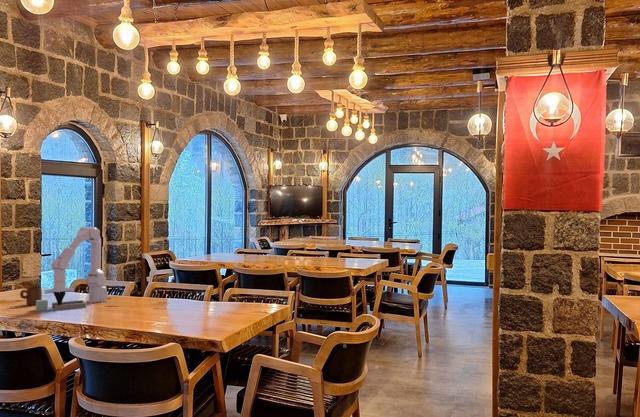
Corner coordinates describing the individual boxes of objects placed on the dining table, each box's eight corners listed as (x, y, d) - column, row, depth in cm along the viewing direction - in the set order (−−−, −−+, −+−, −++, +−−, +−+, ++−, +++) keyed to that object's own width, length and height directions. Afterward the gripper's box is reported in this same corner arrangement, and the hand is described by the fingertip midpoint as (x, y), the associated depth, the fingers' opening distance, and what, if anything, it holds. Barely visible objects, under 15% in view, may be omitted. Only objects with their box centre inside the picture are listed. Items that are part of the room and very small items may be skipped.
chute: (82, 304, 303) (82, 300, 303) (86, 307, 294) (86, 303, 294) (51, 307, 294) (51, 302, 294) (54, 310, 286) (54, 305, 286)
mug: (24, 307, 292) (24, 290, 292) (15, 306, 296) (15, 289, 296) (44, 304, 303) (44, 287, 303) (35, 302, 306) (35, 286, 306)
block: (46, 308, 290) (46, 299, 290) (47, 310, 286) (47, 300, 286) (35, 309, 287) (35, 300, 287) (37, 311, 283) (37, 301, 283)
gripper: (72, 279, 299) (72, 303, 299) (43, 280, 290) (43, 305, 291) (75, 280, 293) (74, 305, 293) (45, 282, 285) (45, 308, 285)
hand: (59, 305), depth 291 cm, fingers closed
